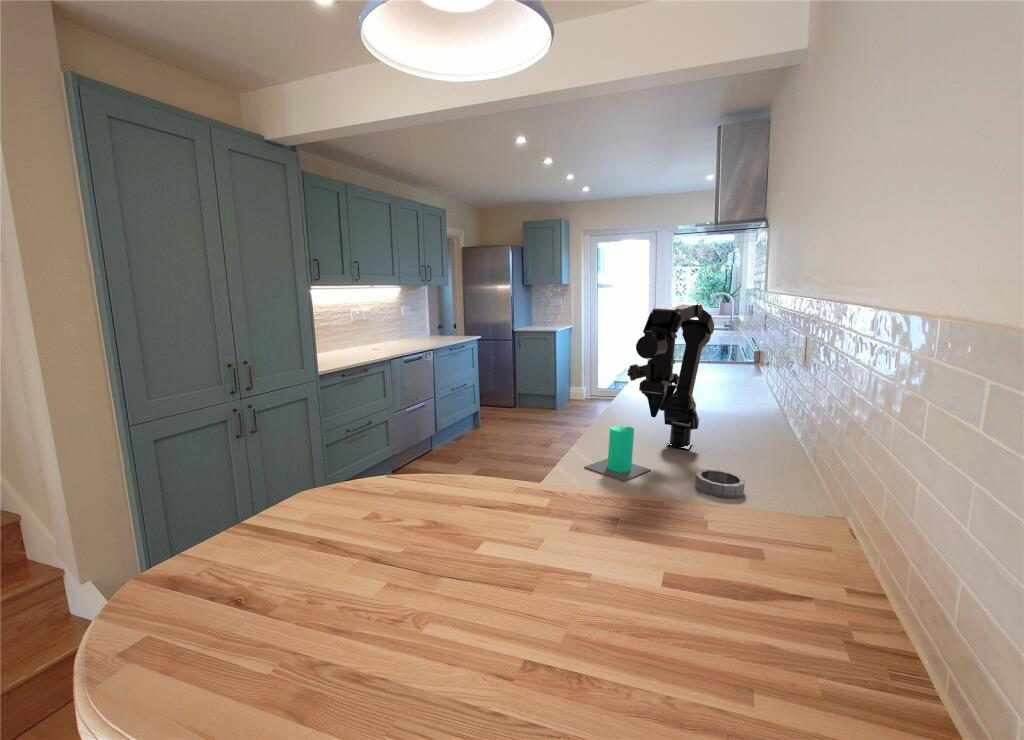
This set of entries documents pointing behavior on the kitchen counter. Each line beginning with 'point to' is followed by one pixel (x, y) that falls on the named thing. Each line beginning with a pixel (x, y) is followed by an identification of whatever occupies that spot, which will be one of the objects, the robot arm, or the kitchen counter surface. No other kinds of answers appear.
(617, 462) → the candle
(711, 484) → the ring holder
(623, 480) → the mat
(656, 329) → the robot arm
